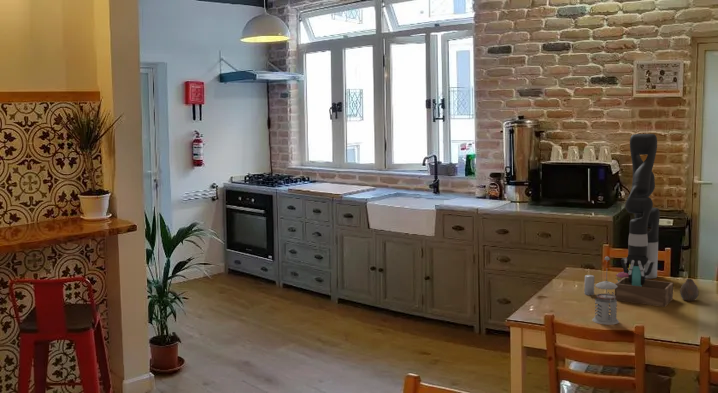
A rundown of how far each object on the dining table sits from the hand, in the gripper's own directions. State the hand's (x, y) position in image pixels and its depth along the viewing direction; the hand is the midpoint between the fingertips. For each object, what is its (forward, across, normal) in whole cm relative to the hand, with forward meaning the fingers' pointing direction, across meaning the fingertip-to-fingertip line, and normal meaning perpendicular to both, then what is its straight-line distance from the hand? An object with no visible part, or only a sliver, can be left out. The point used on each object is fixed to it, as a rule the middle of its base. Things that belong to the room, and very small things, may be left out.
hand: (636, 283), depth 302 cm
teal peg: (+4, 0, 0) cm, 4 cm away
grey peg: (+7, +19, +3) cm, 20 cm away
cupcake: (+7, +9, -17) cm, 20 cm away
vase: (+7, -19, -9) cm, 22 cm away
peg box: (+6, -3, 0) cm, 7 cm away
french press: (+7, +1, +39) cm, 40 cm away
